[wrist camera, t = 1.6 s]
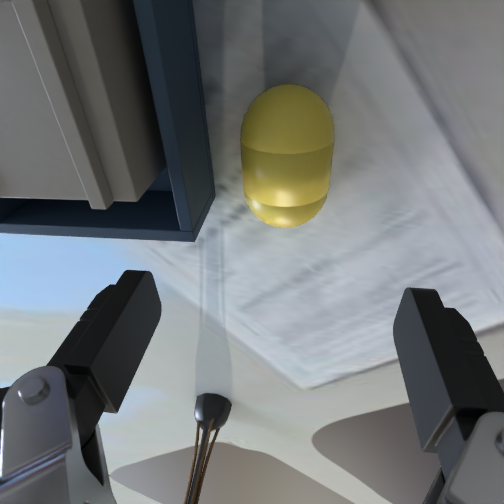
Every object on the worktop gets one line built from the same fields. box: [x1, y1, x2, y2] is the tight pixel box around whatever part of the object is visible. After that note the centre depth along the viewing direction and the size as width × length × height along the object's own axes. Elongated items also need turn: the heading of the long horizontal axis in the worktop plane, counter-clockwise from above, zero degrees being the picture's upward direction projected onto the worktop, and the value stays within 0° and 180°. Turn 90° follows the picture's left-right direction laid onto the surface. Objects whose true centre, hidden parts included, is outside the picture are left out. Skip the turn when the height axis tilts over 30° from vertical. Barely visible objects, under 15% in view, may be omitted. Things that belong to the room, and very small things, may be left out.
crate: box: [0, 0, 215, 242], centre depth 18 cm, size 16×14×6 cm
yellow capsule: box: [240, 84, 334, 228], centre depth 19 cm, size 8×5×5 cm, turn 3°
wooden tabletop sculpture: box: [184, 393, 232, 504], centre depth 35 cm, size 6×5×20 cm
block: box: [0, 0, 167, 209], centre depth 17 cm, size 8×10×9 cm
